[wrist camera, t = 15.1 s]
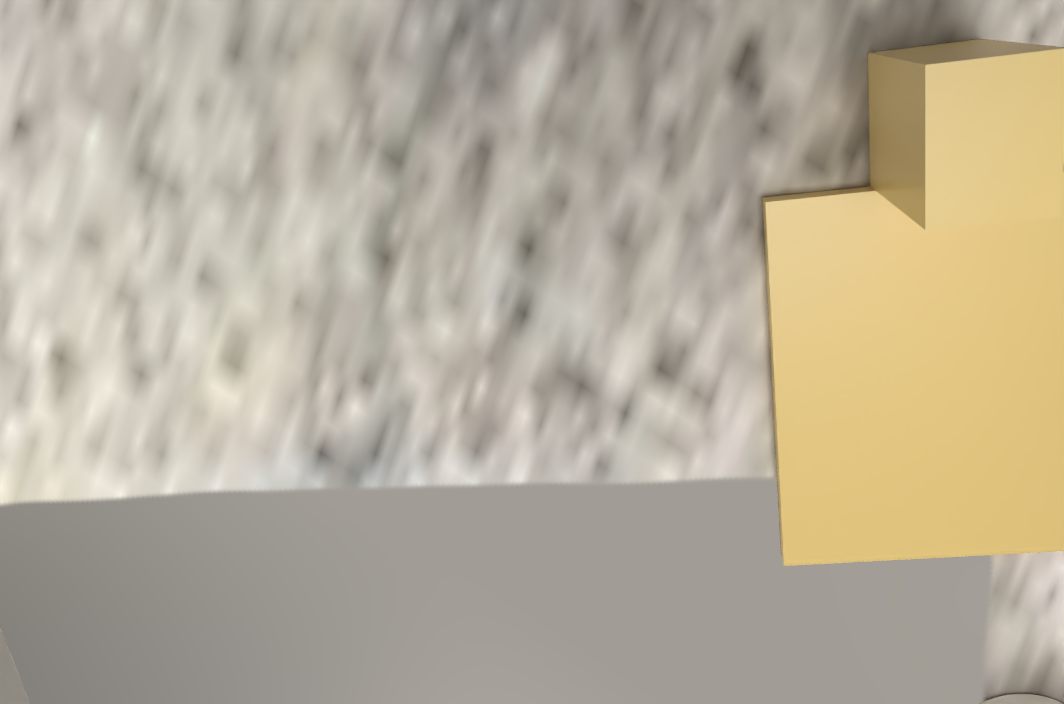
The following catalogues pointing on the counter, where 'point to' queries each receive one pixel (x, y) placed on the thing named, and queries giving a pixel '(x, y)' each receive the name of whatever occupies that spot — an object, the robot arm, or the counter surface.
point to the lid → (927, 319)
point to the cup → (1021, 699)
